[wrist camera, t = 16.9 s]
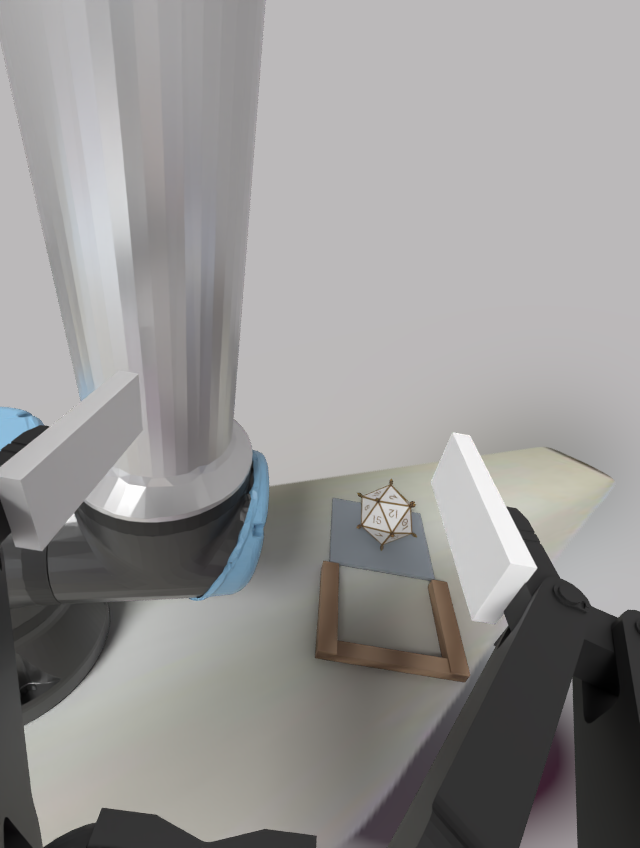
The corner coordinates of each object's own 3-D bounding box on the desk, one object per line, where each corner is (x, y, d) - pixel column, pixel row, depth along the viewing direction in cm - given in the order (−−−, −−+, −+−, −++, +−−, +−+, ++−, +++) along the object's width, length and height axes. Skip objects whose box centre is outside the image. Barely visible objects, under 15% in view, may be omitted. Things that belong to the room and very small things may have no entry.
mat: (329, 563, 50) (329, 561, 50) (332, 499, 60) (332, 497, 60) (433, 581, 50) (434, 579, 50) (419, 515, 61) (420, 513, 60)
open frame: (315, 658, 40) (317, 650, 39) (321, 568, 49) (323, 560, 48) (464, 682, 40) (470, 675, 39) (442, 589, 50) (446, 582, 49)
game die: (366, 540, 59) (375, 475, 60) (421, 555, 54) (430, 484, 55) (338, 546, 51) (350, 471, 52) (400, 564, 47) (411, 482, 48)
